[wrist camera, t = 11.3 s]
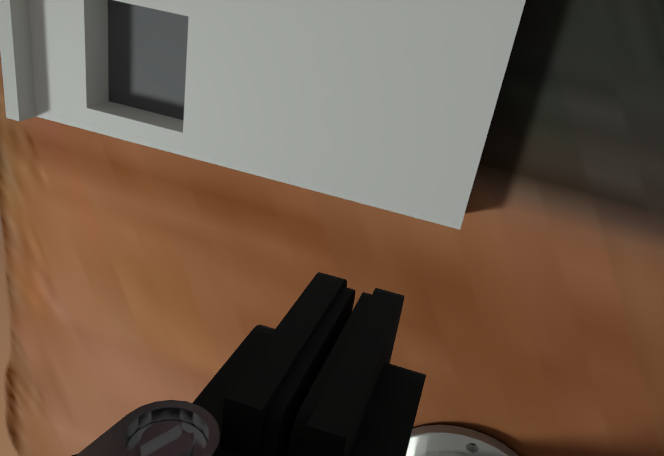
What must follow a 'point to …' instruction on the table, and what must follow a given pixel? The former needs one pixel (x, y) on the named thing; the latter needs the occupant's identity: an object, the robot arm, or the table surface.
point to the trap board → (277, 86)
